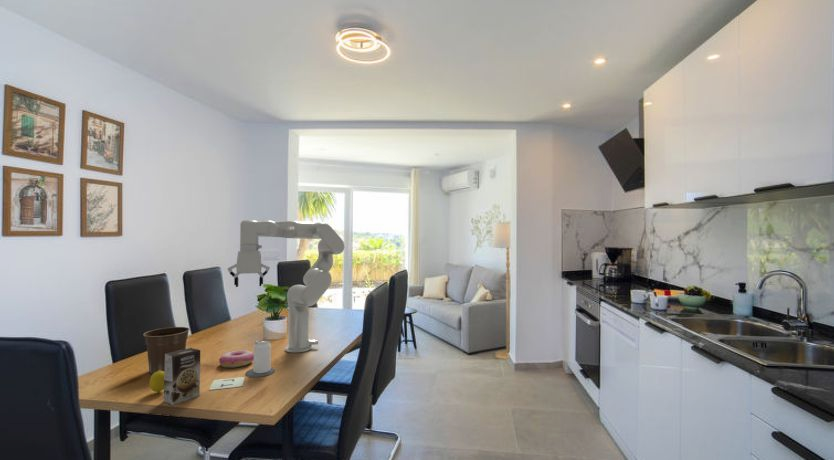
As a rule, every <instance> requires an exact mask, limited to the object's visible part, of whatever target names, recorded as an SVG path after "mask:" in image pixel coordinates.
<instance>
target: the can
mask: <svg viewBox="0 0 834 460" xmlns="http://www.w3.org/2000/svg"><path fill="white" fill-rule="evenodd" d="M270 342H271V341H270V340H268V339H261V340H257V341H255V342H254V345H253V354H254V359H253V369H254V372H255V373H257V374H262V373H267V372H269V371H270V369H271V368H272V367H271V364H272V363H271V358H272V357H271V356H272V355H271V354H272V353H271V352H272V345H271V343H270Z"/></svg>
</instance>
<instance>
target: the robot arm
mask: <svg viewBox="0 0 834 460" xmlns="http://www.w3.org/2000/svg"><path fill="white" fill-rule="evenodd" d="M239 225H240V228H239V229H240V231H239V233H240V234H239V241H240V242H239V251H238V252H237V258H236V263H235V264H233V265H231V266H229V267H228V268H227V271H228V273H229V274H230V275H231V276H232V277H233V278H234V282H233V283H234V286H235V288H238V287H239V276H240V274H241V275H242V274H257V275H259V277H258V278H259V280H258V281H259V282H258V283H259V287H262V285H264V277H265V275H266V274H268V272H269V271H270V266H268V265H266V264H264V263H262V254H261V253H262V252H261V251H260V249H262V248H263V246H262V245H261V244H259V238H261V237H262V238H263V237H264V238H268V237H269V238H282V239H283V238H285V239H301V240H304V239H305V240H306V239H308V240H309V239H310V240H312V239H313V240H319V241H318V244H317V251H318V256H317V259H316V261H315V262H314V263H313V264H312V265H311V267H310V268H309V269H308V270H307V271H306V272H305V274H304V275H303V278H302V281H303V284H304V285H303V284H294V285H292V286H290V287H289V288H288V290H287V295H286V298H287V305H288V306H287V307H288V339H287V340H288V343H287V344H288V345H287V346H285V347H284V351H285V352H287V353H294V354H295V353H297V354H298V353H304V352H309V351H310V350H312V345H314V346H316V345H319V340H315V339H310V338H309V334H310V333H309V332H310V330H309V329H310V327H309V326H310V324H309V323H310V320H309V319H310V310H309V307H313V306H314V305H316V303H317V302H319V301H320V299H321V298H322V296H323V295H324V294H325V293H326V292H327V290H328V289H329V287H330V286H331V284H332V279H333V278H332V274H331V272H330V271H331V269H332V267H333V265H334V257H333V256H334V255H335V256H336V255H340V254H342V253H343V252H344V250H345V242H344V240H343V239H342V238H341V236H340V235H339V234H338V232H336V230H335V229H333V228H332V226H331V225H329V223H327V222H326V221H325V222H322V221H321V222H320V221H317V222H314V221H300V220H299V221H297V220H290V221H289V220H288V221H287V220H286V221H273V220H266V219H265V220H252V219H251V220H249V219H248V220H247V219H245V220H242V221H241V222H240V223H239ZM235 268H236V269H235ZM262 268H264V269H265V270H264V271H263V272H262ZM233 269H235V270H236V273H235V271H233Z"/></svg>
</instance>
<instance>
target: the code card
mask: <svg viewBox="0 0 834 460" xmlns="http://www.w3.org/2000/svg"><path fill="white" fill-rule="evenodd" d="M245 377H246V376H240V377H239V376H238V377H229V378H222V379H214V380H213V381H212V383H211V385H210V386H209V389H208V391H215V390H224V389H233V388H241V387H243V385H244V382H245V379H246V378H245Z"/></svg>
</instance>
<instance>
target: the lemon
mask: <svg viewBox="0 0 834 460" xmlns="http://www.w3.org/2000/svg"><path fill="white" fill-rule="evenodd" d="M149 388H150V389H151V391H153V392H156V393H157V394H160V393H161V392H162V391H164V371H161V370H158V371H157V372H155V373H154V374H151V376H150V379H149Z"/></svg>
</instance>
